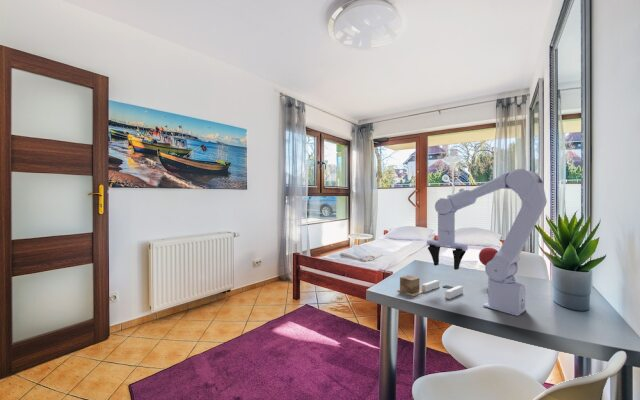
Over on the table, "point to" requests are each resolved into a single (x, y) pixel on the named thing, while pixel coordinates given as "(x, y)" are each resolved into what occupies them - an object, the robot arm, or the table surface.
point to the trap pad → (448, 287)
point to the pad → (413, 293)
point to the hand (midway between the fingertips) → (446, 267)
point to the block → (409, 284)
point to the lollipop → (487, 255)
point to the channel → (448, 293)
